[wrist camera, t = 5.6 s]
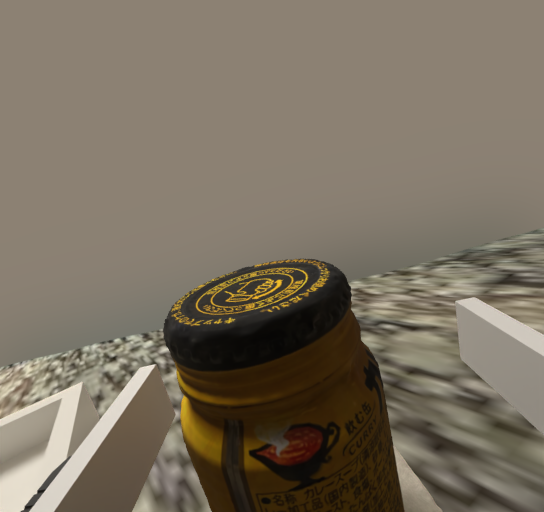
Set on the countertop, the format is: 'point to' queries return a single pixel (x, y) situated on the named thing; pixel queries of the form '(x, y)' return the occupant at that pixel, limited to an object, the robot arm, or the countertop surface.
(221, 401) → the condiment
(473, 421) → the countertop surface
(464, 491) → the countertop surface
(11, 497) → the tray
